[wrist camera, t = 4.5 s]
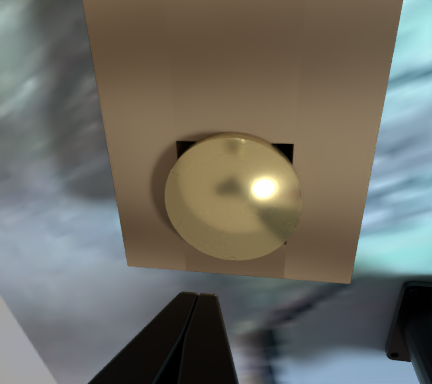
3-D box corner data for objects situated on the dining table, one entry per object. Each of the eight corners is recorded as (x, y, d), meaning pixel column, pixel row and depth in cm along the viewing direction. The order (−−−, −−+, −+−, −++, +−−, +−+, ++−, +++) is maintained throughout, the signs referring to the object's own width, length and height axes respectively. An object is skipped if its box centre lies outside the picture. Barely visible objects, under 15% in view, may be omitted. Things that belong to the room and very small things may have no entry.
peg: (290, 193, 20) (296, 264, 14) (199, 189, 21) (170, 255, 15) (297, 99, 17) (308, 140, 12) (194, 98, 18) (158, 136, 13)
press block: (331, 213, 20) (350, 283, 15) (163, 204, 22) (127, 265, 17) (399, -275, 12) (497, -506, 7) (118, -236, 13) (14, -400, 8)
